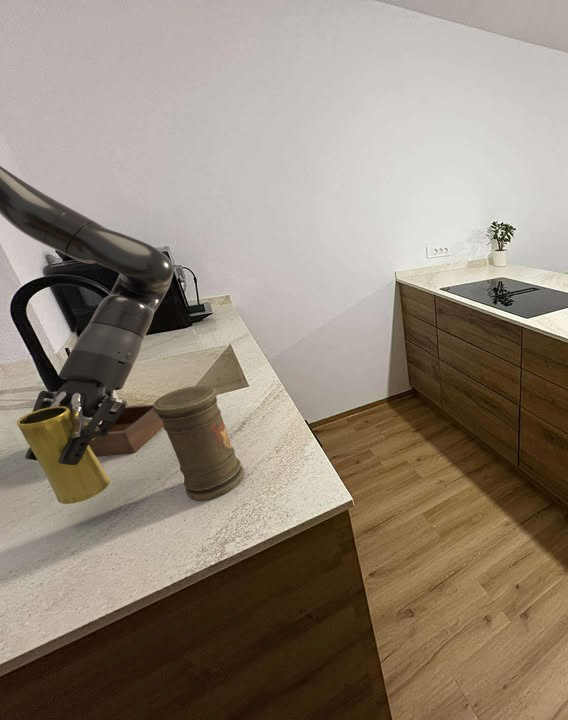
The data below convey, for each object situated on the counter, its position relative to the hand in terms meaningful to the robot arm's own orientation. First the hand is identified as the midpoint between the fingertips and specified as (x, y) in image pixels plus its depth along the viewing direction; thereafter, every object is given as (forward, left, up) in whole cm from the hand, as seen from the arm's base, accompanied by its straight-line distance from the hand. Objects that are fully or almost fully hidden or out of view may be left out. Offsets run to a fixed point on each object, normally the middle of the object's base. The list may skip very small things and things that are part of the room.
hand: (51, 461), depth 56 cm
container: (+17, +7, -12) cm, 22 cm away
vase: (0, +2, -7) cm, 8 cm away
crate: (-10, +25, -12) cm, 29 cm away
